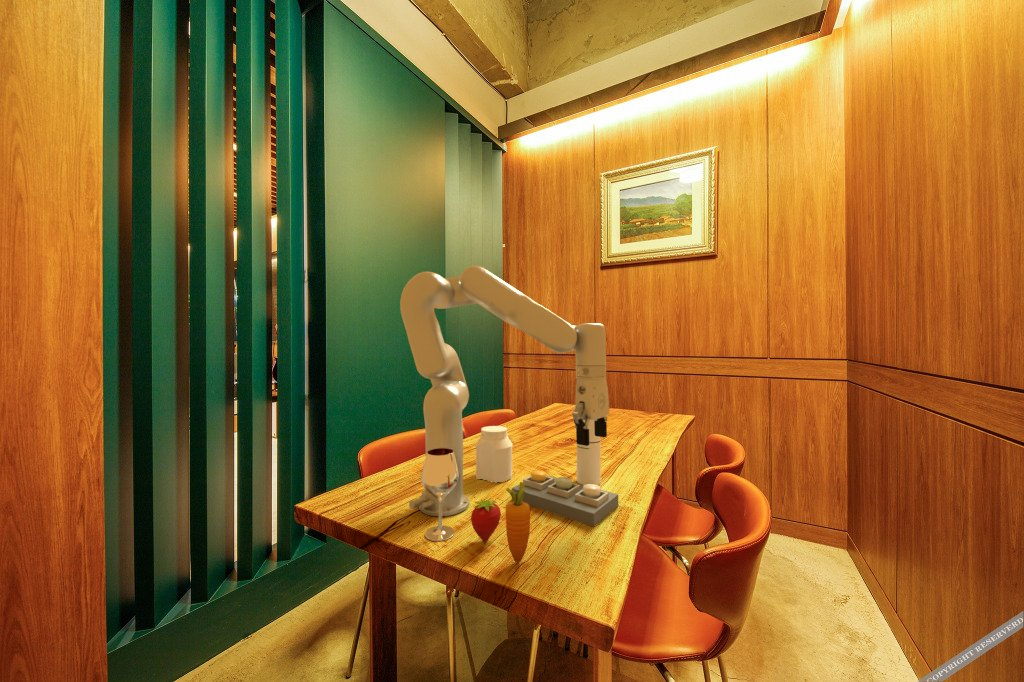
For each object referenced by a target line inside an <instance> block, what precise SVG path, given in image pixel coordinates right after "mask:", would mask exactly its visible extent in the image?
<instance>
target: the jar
mask: <svg viewBox="0 0 1024 682" xmlns="http://www.w3.org/2000/svg"><path fill="white" fill-rule="evenodd" d="M475 478H476V480H477V479H483V480H482V481H484V480H488V481H487V482H489V481H492V482H491V483H493V482H495V483H494V484H498V483H497V482H502V483H505V482H504V481H506V482H508V481H510V480H511V479H512V478H513V442H512V441H511V440H510V438H509V436H508V428H507V427H505V426H501V425H489V426H483V427H481V429H480V438H479V439H478V440H477V442H476V443H475ZM509 479H510V480H509ZM507 480H508V481H507Z"/></svg>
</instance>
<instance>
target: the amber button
mask: <svg viewBox="0 0 1024 682" xmlns="http://www.w3.org/2000/svg"><path fill="white" fill-rule="evenodd" d="M546 475H547V472H546V471H544V470H533V471H532V472H530V476H531V480H533V481H536V482H543V481H545V480H546Z"/></svg>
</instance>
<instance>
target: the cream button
mask: <svg viewBox="0 0 1024 682" xmlns="http://www.w3.org/2000/svg"><path fill="white" fill-rule="evenodd" d="M600 490H601V487H600V485H595V484H586V485H584V486H583V494H584V495H586V496H589V497H598V496H600Z"/></svg>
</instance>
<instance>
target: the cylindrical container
mask: <svg viewBox="0 0 1024 682" xmlns="http://www.w3.org/2000/svg"><path fill="white" fill-rule="evenodd" d="M594 421H595V420H591V418H590V421H589V424H588V428H587V429H589V445H588V446H585V445H579V444H577V443H576V483H577V484H581V485H586V484H595V485H598V486H600V484H601V483H602V482H601V478H602V476H601V475H602V473H601V472H602V469H601V466H602V465H601V459H602V452H601V450H602V447H601V444H602V443H601V441H602V439H601V438H602V437H599V436H595V427H594ZM596 421H597V420H596ZM583 422H585V420H583Z"/></svg>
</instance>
